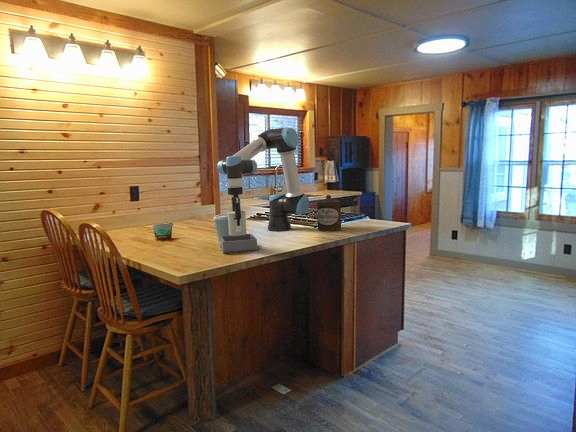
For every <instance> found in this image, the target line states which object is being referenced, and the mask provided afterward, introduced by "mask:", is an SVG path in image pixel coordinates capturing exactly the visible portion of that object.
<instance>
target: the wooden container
mask: <svg viewBox="0 0 576 432" xmlns="http://www.w3.org/2000/svg"><path fill="white" fill-rule="evenodd" d="M316 207H317V210H316V211H317V214H316V215H317V217H316V218H317V220H316V221H317V223H316V224H317V231H320V232H325V231H329V232H330V231H331V232H337V231H341V230H342V212H341V211H342V210H341V200H339V199H338V200H337V199H332V195H330V194H327V195H326V196H325V199H323V200H318V201H316Z"/></svg>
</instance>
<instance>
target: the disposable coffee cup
mask: <svg viewBox="0 0 576 432" xmlns="http://www.w3.org/2000/svg"><path fill="white" fill-rule="evenodd" d="M212 220H213V222H214V227H215V231H216V236H217V238H218V241H219V242H220V236H228V235H229V226H228V213H220V214H216V215H214V217H213V219H212Z"/></svg>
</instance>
